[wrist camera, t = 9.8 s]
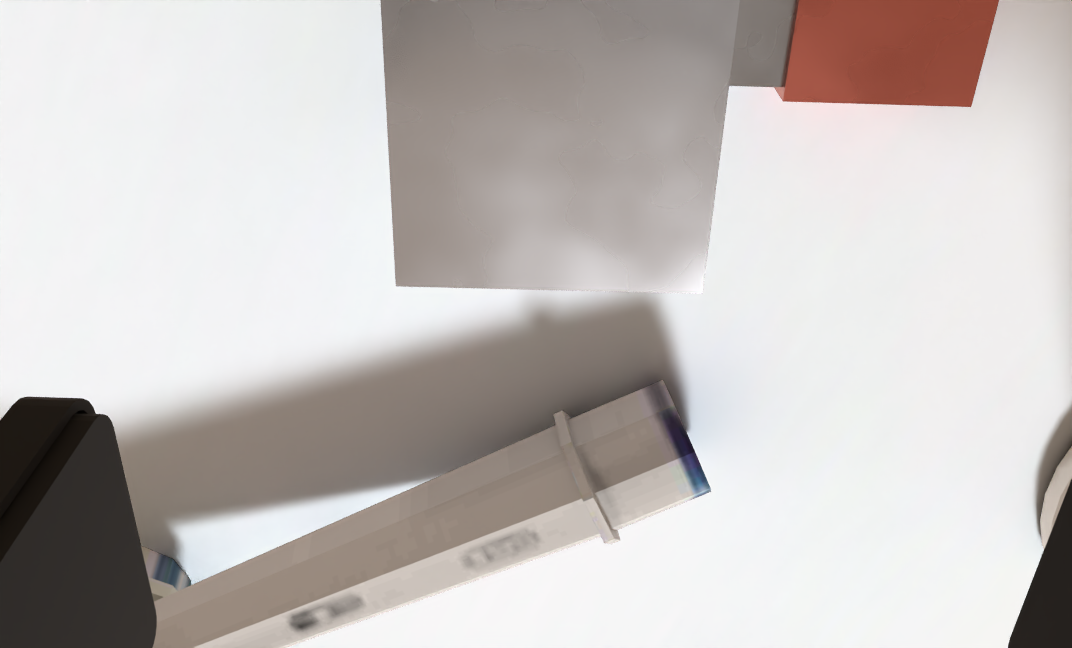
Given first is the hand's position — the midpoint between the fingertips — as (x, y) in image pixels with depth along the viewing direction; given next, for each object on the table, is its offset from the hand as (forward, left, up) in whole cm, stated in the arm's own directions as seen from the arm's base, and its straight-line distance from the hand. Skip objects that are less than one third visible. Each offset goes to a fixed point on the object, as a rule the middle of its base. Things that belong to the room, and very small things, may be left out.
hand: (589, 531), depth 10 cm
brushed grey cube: (0, 0, -17) cm, 17 cm away
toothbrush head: (+7, +18, -20) cm, 28 cm away
